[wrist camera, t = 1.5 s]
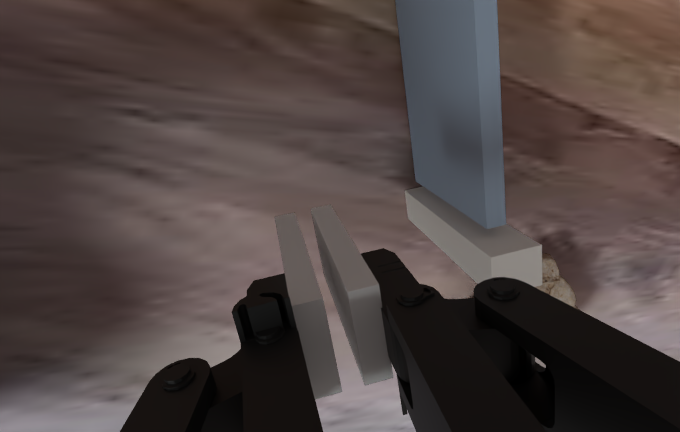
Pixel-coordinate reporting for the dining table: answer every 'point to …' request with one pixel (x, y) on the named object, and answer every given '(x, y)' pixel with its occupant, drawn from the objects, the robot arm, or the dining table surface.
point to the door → (455, 102)
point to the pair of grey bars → (475, 241)
